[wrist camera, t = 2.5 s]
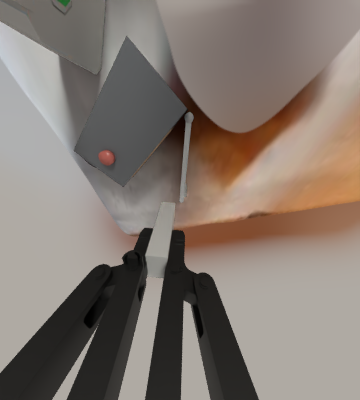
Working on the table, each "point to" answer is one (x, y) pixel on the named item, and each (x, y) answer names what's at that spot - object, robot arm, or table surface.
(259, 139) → the table surface
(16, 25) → the electronic device
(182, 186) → the grey thin flat plate
